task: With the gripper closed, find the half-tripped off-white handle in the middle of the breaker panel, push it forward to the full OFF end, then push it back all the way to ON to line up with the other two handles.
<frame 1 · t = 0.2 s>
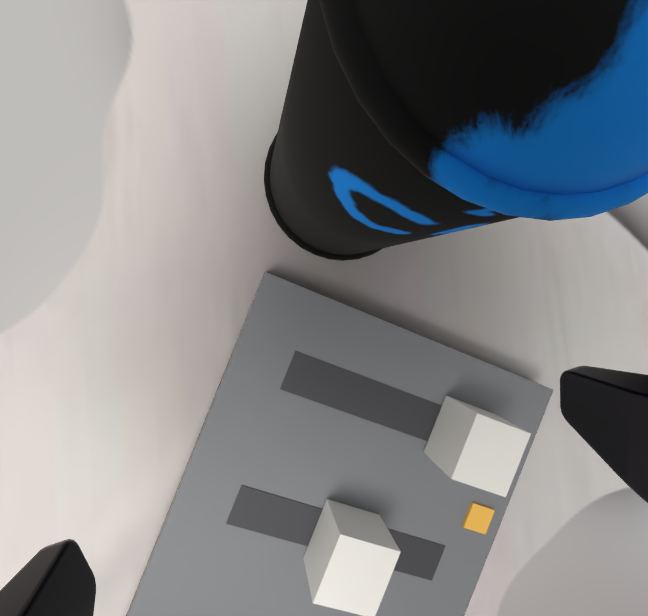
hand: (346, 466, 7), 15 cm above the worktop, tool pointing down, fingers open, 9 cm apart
aerosol can: (340, 183, 23), on the worktop
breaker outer: (474, 443, 21), point 4 cm above the worktop, slide at 0.0 cm
breaker panel: (333, 513, 23), on the worktop
breaker tripped: (349, 555, 20), point 4 cm above the worktop, slide at 4.0 cm
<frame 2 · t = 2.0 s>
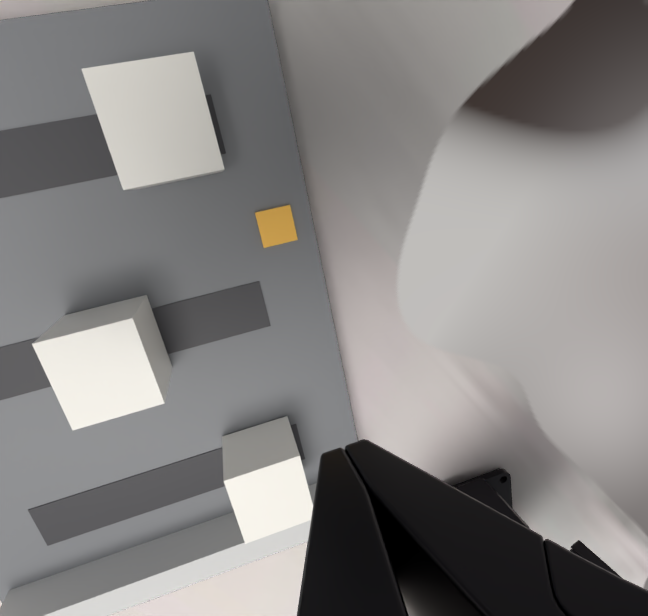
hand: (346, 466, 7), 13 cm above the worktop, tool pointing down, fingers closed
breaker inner: (267, 475, 18), point 4 cm above the worktop, slide at 0.0 cm
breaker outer: (163, 128, 13), point 4 cm above the worktop, slide at 0.0 cm
breaker panel: (130, 325, 18), on the worktop
breaker tripped: (112, 357, 15), point 4 cm above the worktop, slide at 4.0 cm
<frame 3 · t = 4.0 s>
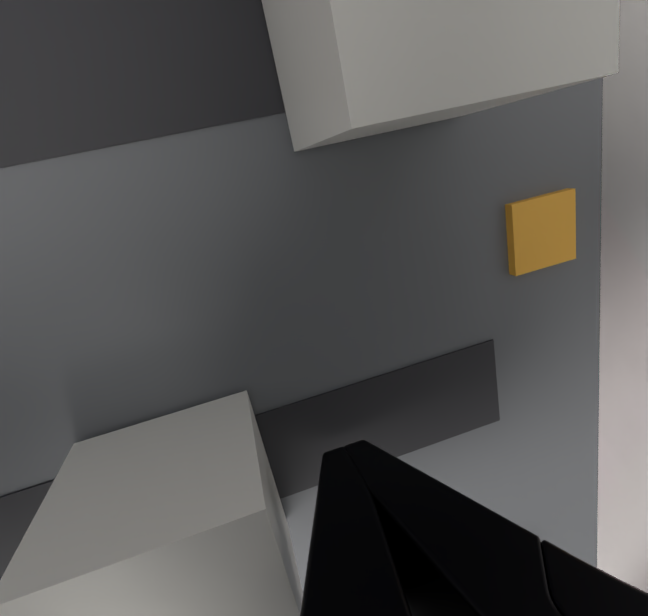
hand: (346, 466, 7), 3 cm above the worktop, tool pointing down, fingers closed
breaker panel: (229, 416, 10), on the worktop
breaker tripped: (186, 552, 7), point 4 cm above the worktop, slide at 4.8 cm, touching gripper
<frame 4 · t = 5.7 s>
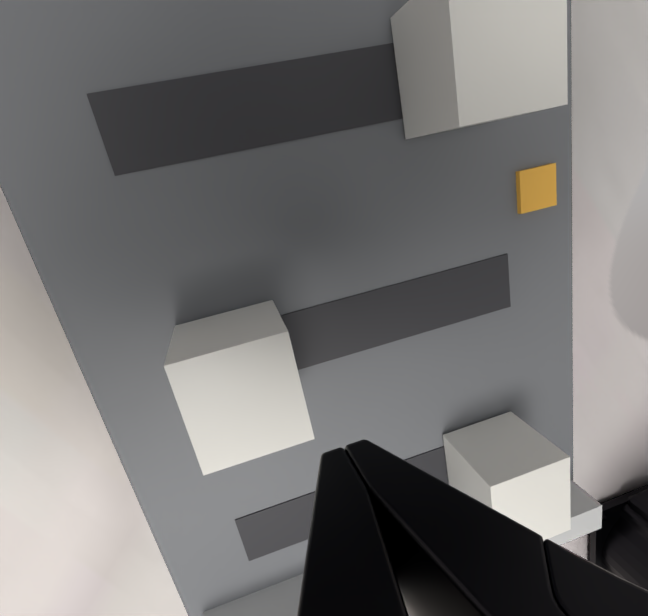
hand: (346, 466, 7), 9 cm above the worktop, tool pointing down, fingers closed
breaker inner: (504, 480, 16), point 4 cm above the worktop, slide at 0.0 cm
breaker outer: (474, 58, 11), point 4 cm above the worktop, slide at 0.0 cm
breaker panel: (340, 307, 16), on the worktop
breaker tripped: (241, 379, 12), point 4 cm above the worktop, slide at 8.1 cm
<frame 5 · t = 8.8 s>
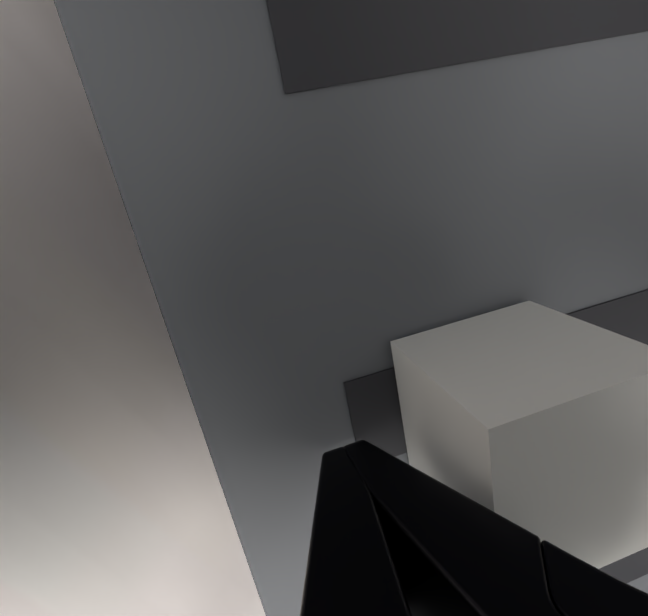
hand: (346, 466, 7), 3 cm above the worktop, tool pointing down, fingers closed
breaker panel: (533, 318, 11), on the worktop
breaker tripped: (517, 431, 7), point 4 cm above the worktop, slide at 7.3 cm, touching gripper
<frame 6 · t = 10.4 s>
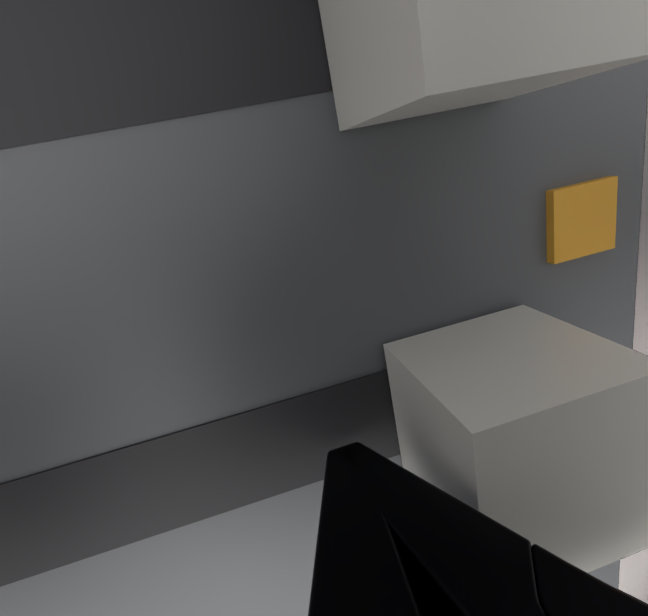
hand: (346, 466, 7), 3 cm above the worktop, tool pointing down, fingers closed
breaker panel: (256, 402, 10), on the worktop
breaker tripped: (508, 435, 7), point 4 cm above the worktop, slide at -0.2 cm, touching gripper
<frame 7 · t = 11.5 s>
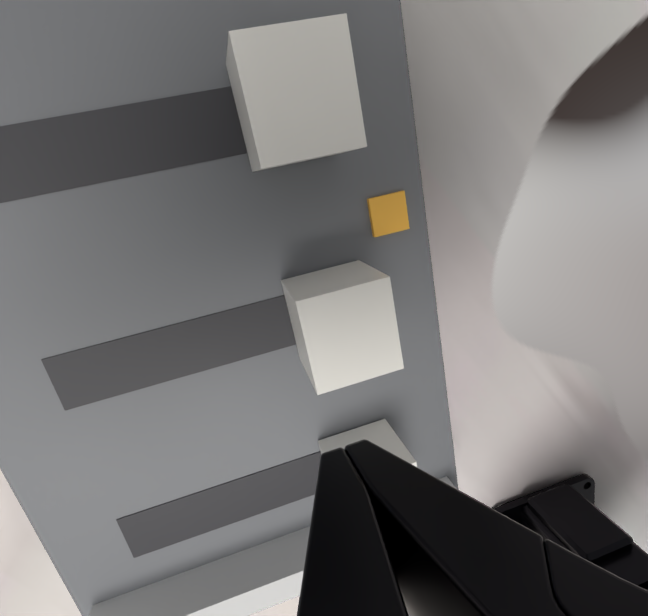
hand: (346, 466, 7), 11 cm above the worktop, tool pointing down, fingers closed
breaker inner: (370, 483, 17), point 4 cm above the worktop, slide at 0.0 cm
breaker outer: (292, 103, 12), point 4 cm above the worktop, slide at 0.0 cm
breaker panel: (221, 322, 17), on the worktop
breaker tripped: (339, 322, 14), point 4 cm above the worktop, slide at -0.1 cm
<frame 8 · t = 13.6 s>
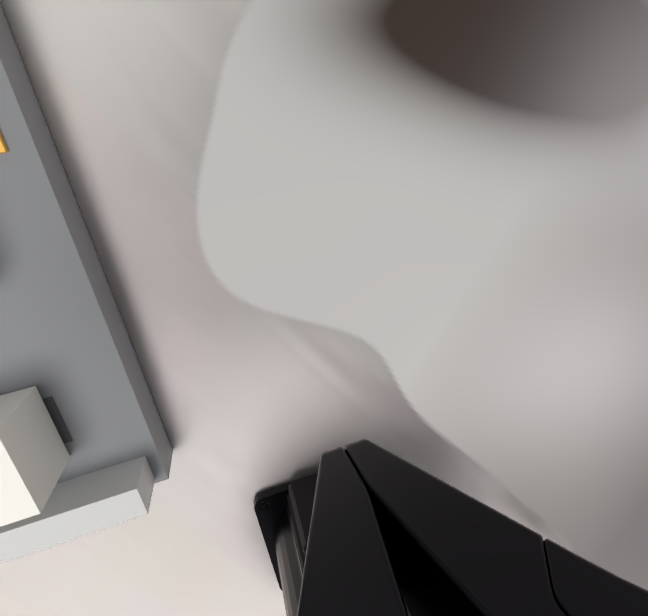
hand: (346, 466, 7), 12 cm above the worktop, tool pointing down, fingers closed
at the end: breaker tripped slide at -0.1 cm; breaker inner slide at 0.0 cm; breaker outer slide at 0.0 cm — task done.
